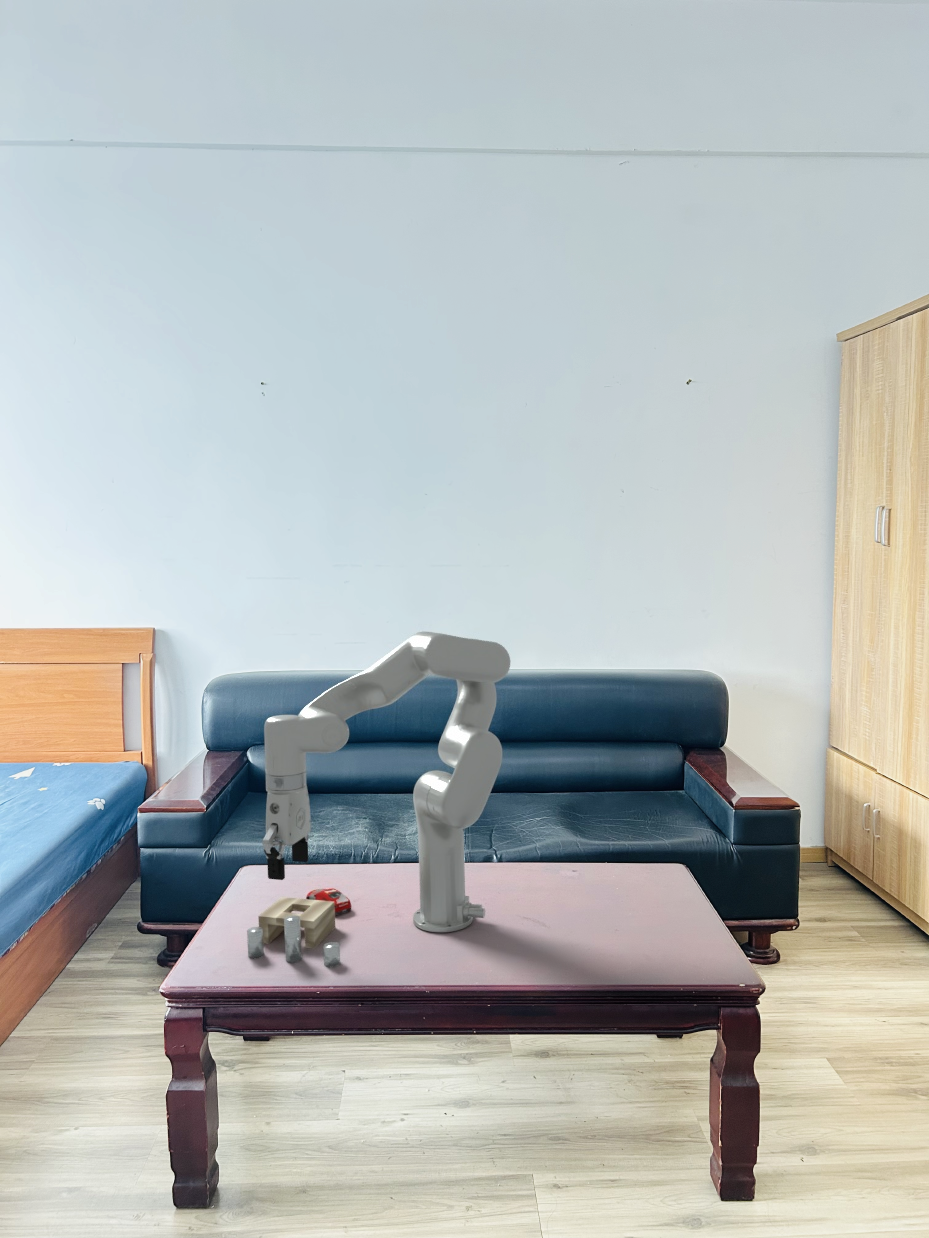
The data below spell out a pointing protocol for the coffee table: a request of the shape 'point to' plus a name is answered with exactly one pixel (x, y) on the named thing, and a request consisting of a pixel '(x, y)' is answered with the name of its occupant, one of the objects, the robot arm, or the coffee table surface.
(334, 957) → the short pin
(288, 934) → the long pin
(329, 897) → the race car
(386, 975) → the coffee table surface
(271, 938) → the bridge
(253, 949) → the medium pin
